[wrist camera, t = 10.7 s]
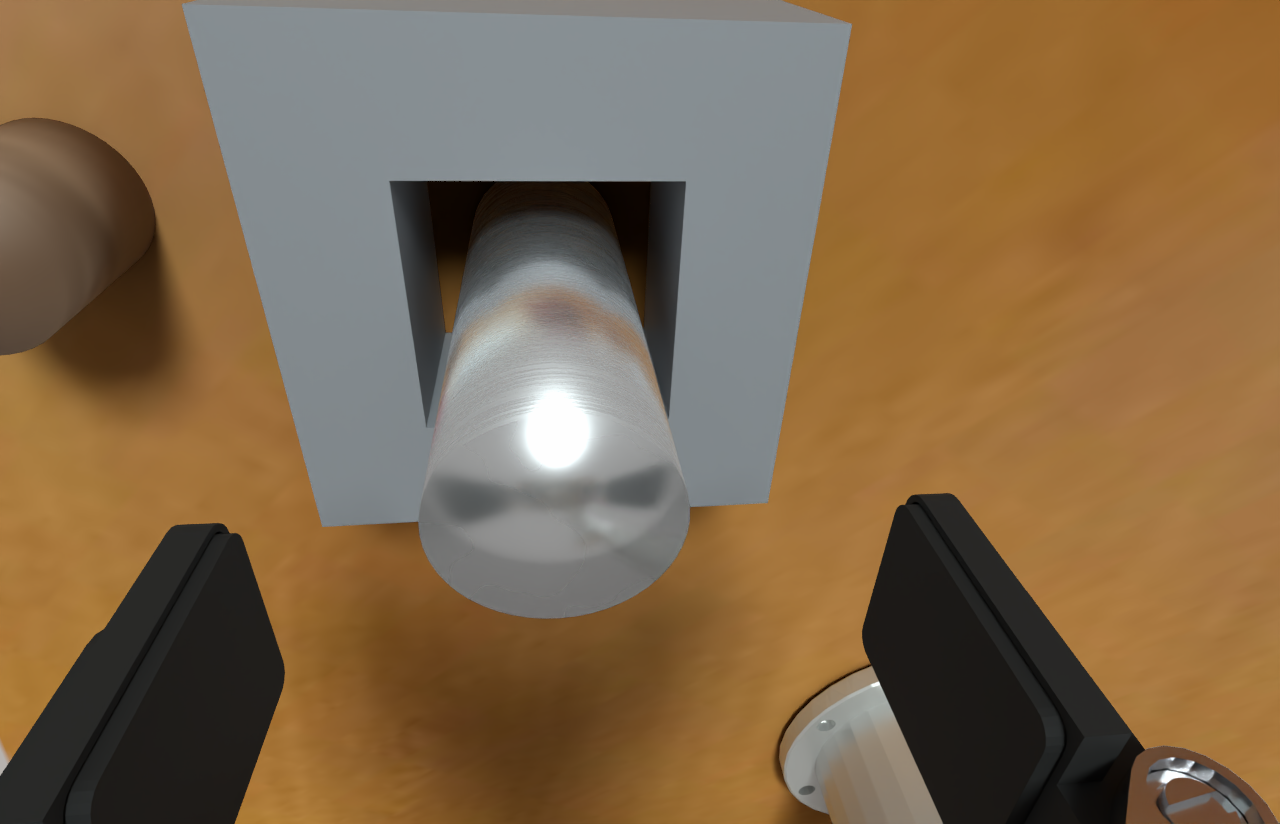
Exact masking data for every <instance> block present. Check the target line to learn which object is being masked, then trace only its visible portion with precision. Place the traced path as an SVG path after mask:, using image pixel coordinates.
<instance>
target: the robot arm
mask: <svg viewBox="0 0 1280 824" xmlns="http://www.w3.org/2000/svg"><path fill="white" fill-rule="evenodd" d="M862 638H863V645H864V649H865V652H866V654H867V656H868V659H869V661H870V663H871V665H872V666H870V667H868V668H865V669H863V670H861V671H858V672H856V673H853V674H851V675H850V676H848V677H846V678H844V679H842V680H841V681H839V682H837V683H835V684H833V685H832V686H830V687H829V688H827V689H826V690H825V691H823V692H822V693H821V694H819V695H818V696H816V697H815V698H814V699H812V700H811V701H810V702H809V703H808V704H807V705H806V706H805V707H804V708H803V709H802V710H801V711H800V712H799V713H798V714H797V716H796V717H795V719H794V720H793V721H792V723H791V724H790V726H789V727H788V729H787V730H786V732H785V735H784V737H783V740H782V742H781V745H780V754H779V760H780V764H781V768H782V772H783V776H784V780H785V782H786V784H787V786H788V789H789V791H790V792H791V793H792V794H793V795H794V796H795V797H796V798H797V799H798V800H799V801H800V802H802V803H803V804H805V805H807V806H809V807H810V808H812V809H814V810H817V811H820V812H823V813H827V814H829V815H830V818H831V821H832V824H1279V823H1278V821H1277V820H1276V818H1275V816H1274V815H1273V813H1272V812H1271V810H1270V808H1269V807H1268V805H1267V804H1266V802H1265V801H1264V800H1263V799H1262V798H1261V797H1260V796H1259V795H1258V794H1257V793H1256V792H1255V791H1254V790H1253V788H1252V787H1251V786H1250V785H1249V784H1247V783H1246V782H1245V781H1244V780H1242V779H1241V778H1240V777H1238V776H1237V775H1236V774H1235V773H1233V772H1232V771H1231V770H1229V769H1228V768H1226V767H1225V766H1223V765H1221V764H1219V763H1217V762H1216V761H1214V760H1212V759H1210V758H1208V757H1207V756H1204V755H1202V754H1199V753H1196V752H1193V751H1190V750H1187V749H1185V748H1178V747H1171V746H1159V747H1153V748H1148V749H1146V750H1145V749H1144V748H1143V746H1142V745H1141V744H1140V742H1139V741H1138V740H1137V738H1136V737H1135V736H1134V734H1133V733H1132V732H1131V730H1130V729H1129V728H1128V726H1127V725H1126V724H1125V722H1124V721H1123V720H1122V718H1121V717H1120V716H1119V714H1118V713H1117V712H1116V710H1115V709H1114V707H1113V706H1112V705H1111V703H1110V702H1109V701H1108V699H1107V698H1106V697H1105V695H1104V694H1103V693H1102V691H1101V690H1100V689H1099V687H1098V686H1097V685H1096V683H1095V682H1094V681H1093V679H1092V678H1091V677H1090V675H1089V674H1088V673H1087V671H1086V670H1085V669H1084V667H1083V666H1082V665H1081V663H1080V662H1079V661H1078V659H1077V658H1076V656H1075V655H1074V654H1073V652H1072V651H1071V650H1070V648H1069V647H1068V646H1067V644H1066V643H1065V642H1064V640H1063V639H1062V638H1061V636H1060V635H1059V634H1058V632H1057V631H1056V630H1055V628H1054V627H1053V626H1052V624H1051V623H1050V622H1049V620H1048V619H1047V618H1046V616H1045V615H1044V614H1043V612H1042V611H1041V610H1040V608H1039V607H1038V605H1037V604H1036V603H1035V601H1034V600H1033V599H1032V597H1031V596H1030V595H1029V593H1028V592H1027V591H1026V590H1025V589H1024V587H1023V586H1022V584H1021V583H1020V582H1019V580H1018V579H1017V578H1016V576H1015V575H1014V574H1013V572H1012V571H1011V570H1010V568H1009V567H1008V566H1007V564H1006V563H1005V562H1004V560H1003V559H1002V558H1001V556H1000V555H999V554H998V552H997V551H996V550H995V548H994V547H993V546H992V544H991V543H990V542H989V540H988V539H987V537H986V536H985V535H984V533H983V532H982V531H981V529H980V528H979V527H978V525H977V524H976V523H975V521H974V520H973V519H972V517H971V516H970V515H969V513H968V512H967V511H966V509H965V508H964V507H963V505H962V504H961V503H960V501H959V500H958V499H957V498H956V497H955V496H954V495H952V494H950V493H944V494H919V495H912V496H911V497H910V498H909V499H908V500H907V502H906V505H900V506H899V507H898V508H897V510H896V512H895V515H894V519H893V522H892V526H891V529H890V533H889V536H888V540H887V543H886V547H885V550H884V554H883V558H882V561H881V565H880V568H879V572H878V575H877V579H876V582H875V586H874V589H873V593H872V596H871V600H870V604H869V607H868V611H867V614H866V618H865V621H864V625H863V630H862ZM284 675H285V670H284V663H283V659H282V656H281V653H280V650H279V647H278V644H277V641H276V638H275V635H274V632H273V629H272V626H271V623H270V620H269V617H268V614H267V611H266V608H265V605H264V602H263V599H262V596H261V593H260V590H259V587H258V584H257V581H256V578H255V575H254V572H253V569H252V566H251V563H250V560H249V557H248V554H247V551H246V548H245V545H244V542H243V540H242V538H241V536H240V535H239V534H237V533H229V531H228V529H227V527H226V526H225V525H224V524H220V523H212V524H187V525H176V526H173V527H172V528H171V529H170V530H169V531H168V532H167V533H166V535H165V536H164V538H163V539H162V541H161V543H160V544H159V546H158V547H157V549H156V550H155V552H154V553H153V555H152V556H151V558H150V560H149V561H148V563H147V564H146V566H145V567H144V569H143V570H142V572H141V573H140V575H139V576H138V578H137V580H136V581H135V583H134V584H133V586H132V587H131V589H130V590H129V592H128V593H127V595H126V596H125V598H124V600H123V601H122V603H121V604H120V606H119V607H118V609H117V610H116V612H115V613H114V615H113V616H112V618H111V620H110V621H109V623H108V624H107V626H106V627H105V629H104V630H102V631H100V632H99V633H97V634H96V635H95V636H94V637H93V638H92V639H91V641H90V642H89V643H88V644H87V645H86V647H85V648H84V650H83V651H82V653H81V654H80V656H79V657H78V659H77V660H76V662H75V664H74V665H73V667H72V668H71V670H70V671H69V673H68V674H67V676H66V677H65V679H64V680H63V682H62V683H61V685H60V686H59V688H58V689H57V691H56V692H55V694H54V695H53V697H52V698H51V700H50V701H49V703H48V704H47V706H46V707H45V709H44V711H43V712H42V714H41V715H40V717H39V718H38V720H37V721H36V723H35V724H34V726H33V727H32V729H31V730H30V732H29V733H28V735H27V736H26V738H25V739H24V741H23V742H22V744H21V745H20V747H19V748H18V750H17V751H16V753H15V754H14V756H13V757H12V759H11V761H10V762H9V764H8V765H7V767H6V768H5V770H4V771H3V773H2V774H1V776H0V824H235V821H236V818H237V815H238V812H239V810H240V807H241V804H242V801H243V798H244V796H245V793H246V790H247V787H248V784H249V782H250V779H251V776H252V773H253V770H254V768H255V765H256V762H257V759H258V756H259V754H260V751H261V748H262V745H263V742H264V740H265V737H266V734H267V731H268V728H269V726H270V723H271V720H272V717H273V714H274V711H275V709H276V706H277V703H278V700H279V697H280V695H281V692H282V688H283V684H284Z"/></svg>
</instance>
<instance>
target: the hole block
mask: <svg viewBox="0 0 1280 824" xmlns="http://www.w3.org/2000/svg"><path fill="white" fill-rule="evenodd" d="M182 7H183V11H184V15H185V18H186V22H187V26H188V30H189V33H190V37H191V41H192V44H193V48H194V52H195V56H196V59H197V63H198V67H199V70H200V74H201V78H202V82H203V85H204V89H205V93H206V96H207V100H208V104H209V107H210V111H211V115H212V119H213V122H214V126H215V130H216V133H217V137H218V141H219V145H220V148H221V152H222V156H223V159H224V163H225V167H226V171H227V174H228V178H229V182H230V185H231V189H232V193H233V197H234V200H235V204H236V208H237V211H238V215H239V219H240V223H241V226H242V230H243V234H244V237H245V241H246V245H247V249H248V252H249V256H250V260H251V263H252V267H253V271H254V275H255V278H256V282H257V286H258V289H259V293H260V297H261V301H262V304H263V308H264V312H265V315H266V319H267V323H268V326H269V330H270V334H271V338H272V341H273V345H274V349H275V352H276V356H277V360H278V364H279V367H280V371H281V375H282V378H283V382H284V386H285V390H286V393H287V397H288V401H289V404H290V408H291V412H292V416H293V419H294V423H295V427H296V430H297V434H298V438H299V442H300V445H301V449H302V453H303V456H304V460H305V464H306V468H307V471H308V475H309V479H310V482H311V486H312V490H313V494H314V497H315V501H316V505H317V508H318V512H319V516H320V520H321V523H322V527H327V526H345V525H364V524H383V523H401V522H418V520H419V510H420V503H421V498H422V493H423V487H424V482H425V477H426V471H427V466H428V461H429V455H430V450H431V445H432V439H433V434H434V429H435V423H436V418H437V413H438V407H439V402H440V397H441V391H442V386H443V380H444V375H445V370H446V364H447V359H448V354H449V348H450V343H451V338H452V333H446V332H445V324H444V316H443V307H442V299H441V291H440V283H439V274H438V266H437V258H436V250H435V241H434V233H433V225H432V217H431V208H430V200H429V192H428V184H427V181H651V184H650V205H649V227H648V249H647V271H646V292H645V314H644V328H643V332H644V335H645V339H646V343H647V346H648V350H649V354H650V357H651V361H652V365H653V368H654V372H655V376H656V379H657V383H658V387H659V390H660V394H661V398H662V401H663V405H664V408H665V412H666V416H667V419H668V423H669V427H670V430H671V434H672V438H673V441H674V445H675V449H676V452H677V456H678V460H679V463H680V467H681V471H682V474H683V478H684V482H685V485H686V489H687V492H688V498H689V504H690V507H699V506H718V505H736V504H755V503H768V498H769V492H770V487H771V481H772V475H773V470H774V464H775V458H776V453H777V447H778V441H779V436H780V430H781V424H782V419H783V413H784V407H785V402H786V396H787V390H788V385H789V379H790V373H791V367H792V362H793V356H794V350H795V345H796V339H797V333H798V328H799V322H800V316H801V311H802V305H803V299H804V294H805V288H806V282H807V277H808V271H809V265H810V260H811V254H812V248H813V243H814V237H815V231H816V225H817V220H818V214H819V208H820V203H821V197H822V191H823V186H824V180H825V174H826V169H827V163H828V157H829V152H830V146H831V140H832V135H833V129H834V123H835V118H836V112H837V106H838V101H839V95H840V89H841V83H842V78H843V72H844V66H845V61H846V55H847V49H848V44H849V38H850V32H851V27H852V24H850V23H847V22H844V21H841V20H838V19H835V18H832V17H829V16H826V15H823V14H820V13H817V12H814V11H811V10H808V9H805V8H802V7H799V6H796V5H793V4H790V3H787V2H784V1H781V0H196V1H192V2H188V3H184V4H182Z"/></svg>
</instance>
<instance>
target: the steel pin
mask: <svg viewBox="0 0 1280 824" xmlns="http://www.w3.org/2000/svg"><path fill="white" fill-rule="evenodd" d="M689 521H690V504H689V498H688V492H687V489H686V485H685V482H684V478H683V474H682V471H681V467H680V463H679V460H678V456H677V452H676V449H675V445H674V441H673V438H672V434H671V430H670V427H669V423H668V419H667V416H666V412H665V408H664V405H663V401H662V398H661V394H660V390H659V387H658V383H657V379H656V376H655V372H654V368H653V365H652V361H651V357H650V354H649V350H648V346H647V343H646V339H645V335H644V332H643V328H642V325H641V321H640V317H639V314H638V310H637V306H636V303H635V299H634V295H633V292H632V288H631V284H630V281H629V277H628V273H627V270H626V266H625V262H624V259H623V255H622V251H621V248H620V244H619V241H618V237H617V233H616V230H615V226H614V222H613V219H612V216H611V213H610V210H609V208H608V206H607V204H606V202H605V201H604V199H603V198H602V196H601V195H600V194H599V192H598V191H597V190H596V189H595V188H594V187H593V186H592V185H591V184H589V183H588V182H587V181H497V182H496V183H495V184H494V185H493V186H492V187H491V188H490V189H489V190H488V191H487V192H486V194H485V195H484V196H483V198H482V200H481V201H480V203H479V205H478V208H477V210H476V213H475V216H474V220H473V225H472V231H471V236H470V241H469V247H468V252H467V257H466V263H465V268H464V274H463V279H462V284H461V290H460V295H459V300H458V306H457V311H456V316H455V322H454V327H453V332H452V338H451V343H450V348H449V354H448V359H447V364H446V370H445V375H444V380H443V386H442V391H441V397H440V402H439V407H438V413H437V418H436V423H435V429H434V434H433V439H432V445H431V450H430V455H429V461H428V466H427V471H426V477H425V482H424V487H423V493H422V498H421V503H420V510H419V520H418V523H419V535H420V539H421V543H422V546H423V549H424V551H425V554H426V556H427V558H428V560H429V562H430V563H431V565H432V566H433V568H434V569H435V571H436V572H437V573H438V574H439V575H440V576H441V577H442V579H443V580H444V581H445V582H446V583H447V584H449V585H450V586H451V587H452V588H453V589H455V590H456V591H457V592H459V593H460V594H462V595H463V596H465V597H466V598H468V599H470V600H472V601H474V602H476V603H478V604H480V605H482V606H484V607H487V608H490V609H493V610H495V611H498V612H502V613H506V614H510V615H515V616H522V617H528V618H544V619H546V618H566V617H575V616H580V615H585V614H590V613H594V612H597V611H601V610H604V609H607V608H610V607H612V606H615V605H617V604H620V603H622V602H624V601H626V600H628V599H630V598H632V597H633V596H635V595H637V594H638V593H640V592H641V591H643V590H644V589H646V588H647V587H649V586H650V585H651V584H652V583H653V582H655V581H656V580H657V579H658V578H659V577H660V576H661V575H662V574H663V573H664V572H665V571H666V570H667V569H668V568H669V566H670V565H671V564H672V562H673V561H674V560H675V558H676V557H677V555H678V553H679V551H680V550H681V548H682V546H683V543H684V541H685V538H686V535H687V532H688V527H689Z"/></svg>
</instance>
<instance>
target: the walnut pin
mask: <svg viewBox="0 0 1280 824" xmlns="http://www.w3.org/2000/svg"><path fill="white" fill-rule="evenodd" d="M154 232H155V212H154V207H153V203H152V200H151V197H150V195H149V192H148V190H147V188H146V186H145V184H144V183H143V181H142V179H141V178H140V176H139V175H138V174H137V172H136V171H135V169H134V168H133V167H132V166H131V165H130V164H129V162H128V161H127V160H126V159H125V158H124V157H123V156H122V155H121V154H119V153H118V152H117V151H116V150H115V149H114V148H112V147H111V146H110V145H108V144H107V143H106V142H104V141H103V140H101V139H100V138H98V137H96V136H95V135H93V134H91V133H89V132H87V131H85V130H83V129H81V128H78V127H76V126H73V125H71V124H67V123H64V122H61V121H56V120H51V119H43V118H24V119H18V120H13V121H10V122H7V123H5V124H2V125H0V355H9V354H15V353H20V352H24V351H27V350H29V349H32V348H34V347H36V346H38V345H40V344H42V343H44V342H45V341H46V340H47V339H49V338H50V337H51V336H52V335H54V334H55V333H56V332H57V331H58V330H59V329H60V328H62V327H63V326H64V325H65V324H66V323H67V322H68V321H70V320H71V319H72V318H73V317H74V316H75V315H76V314H78V313H79V312H80V311H81V310H82V309H83V308H84V307H86V306H87V305H88V304H89V303H90V302H91V301H92V300H94V299H95V298H96V297H97V296H98V295H99V294H100V293H101V292H103V291H104V290H105V289H106V288H107V287H108V286H109V285H111V284H112V283H113V282H114V281H115V280H116V279H117V278H119V277H120V276H121V275H122V274H123V273H124V272H125V271H127V270H128V269H129V268H130V267H131V266H132V265H133V264H135V263H136V262H137V261H138V260H139V259H140V258H141V257H142V256H143V255H144V254H145V253H146V251H147V250H148V248H149V247H150V245H151V242H152V240H153V237H154Z"/></svg>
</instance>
